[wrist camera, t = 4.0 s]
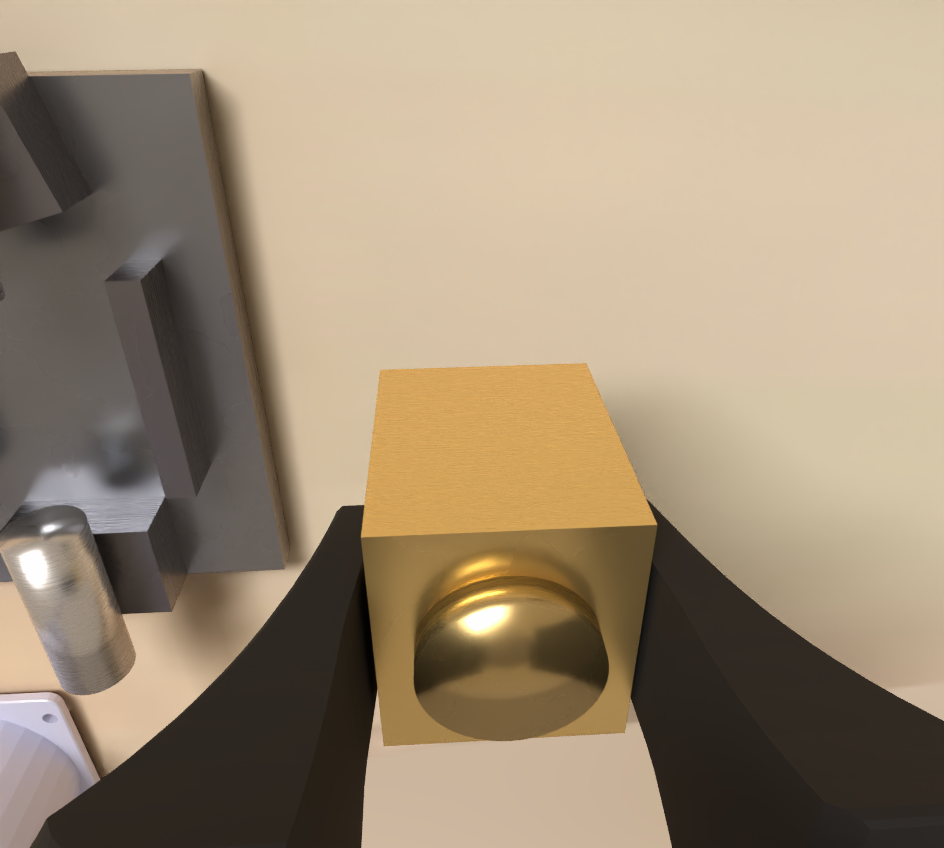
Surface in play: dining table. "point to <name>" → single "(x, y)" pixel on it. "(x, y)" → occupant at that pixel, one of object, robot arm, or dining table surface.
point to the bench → (121, 362)
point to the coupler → (502, 555)
